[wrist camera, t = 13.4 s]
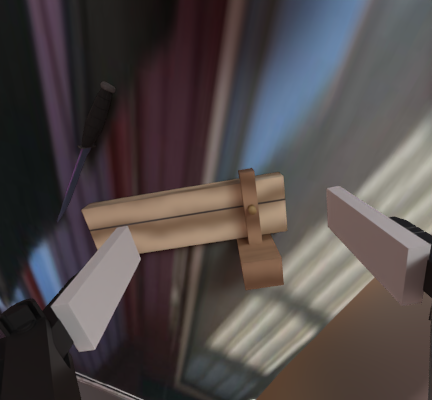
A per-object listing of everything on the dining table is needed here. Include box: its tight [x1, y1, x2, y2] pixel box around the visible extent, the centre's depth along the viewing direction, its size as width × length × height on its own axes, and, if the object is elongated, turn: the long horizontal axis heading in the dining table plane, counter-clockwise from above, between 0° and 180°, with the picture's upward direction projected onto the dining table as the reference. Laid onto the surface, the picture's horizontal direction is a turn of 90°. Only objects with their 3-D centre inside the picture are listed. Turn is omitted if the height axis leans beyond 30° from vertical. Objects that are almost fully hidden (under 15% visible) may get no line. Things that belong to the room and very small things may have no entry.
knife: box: [57, 81, 116, 222], centre depth 36 cm, size 24×2×5 cm, turn 152°
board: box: [82, 172, 287, 254], centre depth 41 cm, size 10×34×3 cm, turn 100°
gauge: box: [237, 168, 284, 290], centre depth 38 cm, size 18×6×10 cm, turn 10°
